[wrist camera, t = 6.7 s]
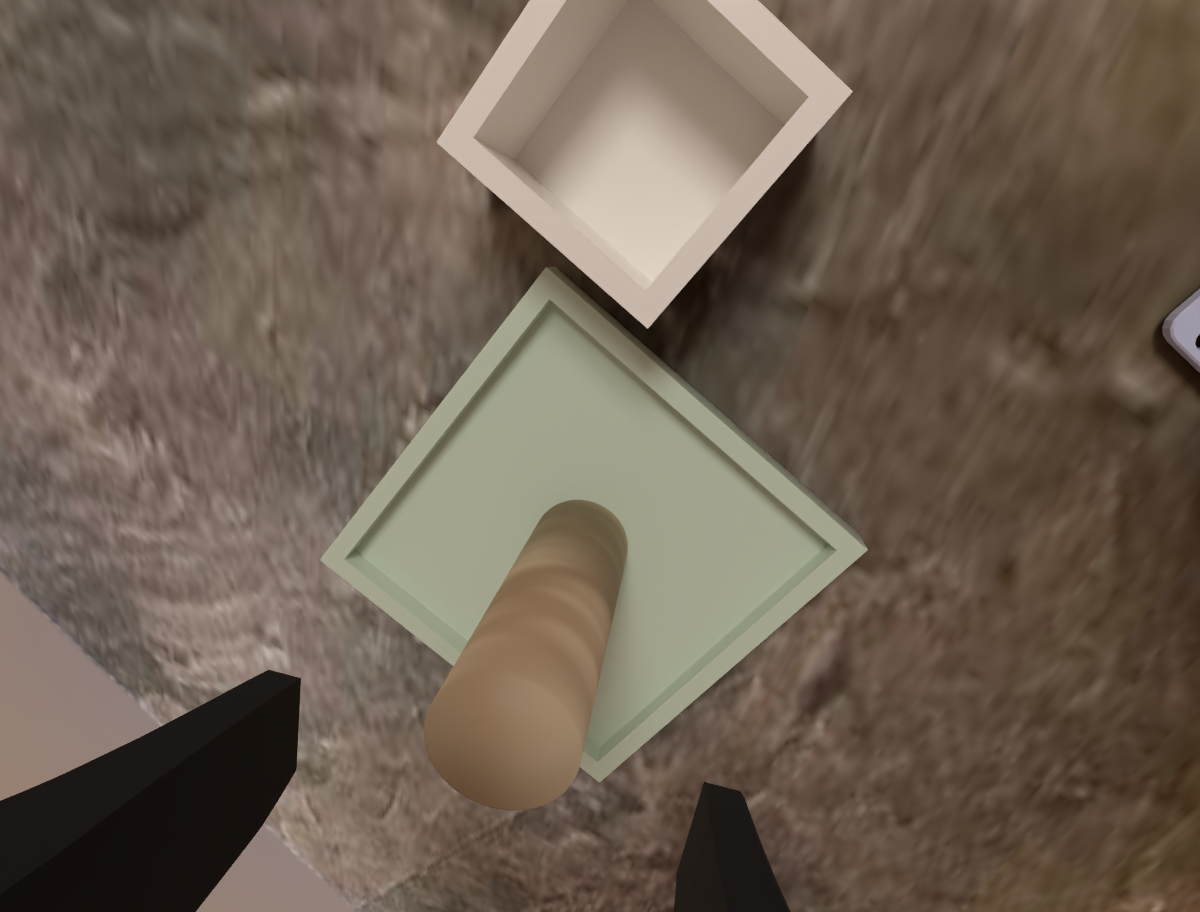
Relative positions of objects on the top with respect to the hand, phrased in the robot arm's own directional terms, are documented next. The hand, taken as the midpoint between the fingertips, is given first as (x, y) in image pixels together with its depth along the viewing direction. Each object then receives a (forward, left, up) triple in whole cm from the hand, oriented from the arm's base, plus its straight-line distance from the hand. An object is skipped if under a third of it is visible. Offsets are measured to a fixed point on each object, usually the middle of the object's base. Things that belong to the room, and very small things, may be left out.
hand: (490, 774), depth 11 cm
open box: (+6, -10, -10) cm, 15 cm away
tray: (0, 0, -10) cm, 10 cm away
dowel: (0, 0, -10) cm, 10 cm away
